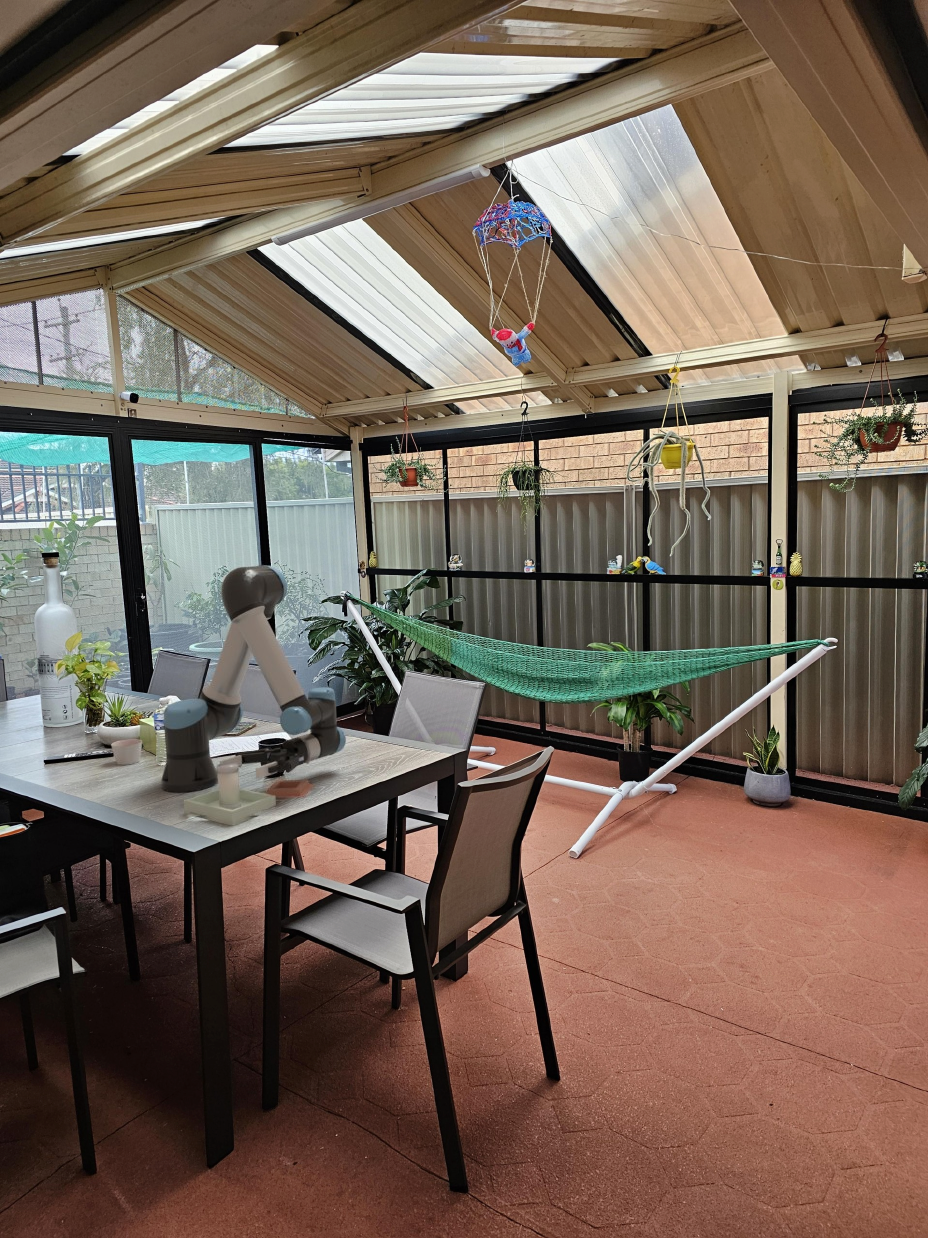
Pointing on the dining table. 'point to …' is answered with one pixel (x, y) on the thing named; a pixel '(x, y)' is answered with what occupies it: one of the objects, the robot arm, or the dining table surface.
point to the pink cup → (127, 751)
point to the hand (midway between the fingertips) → (238, 769)
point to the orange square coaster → (289, 788)
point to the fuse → (228, 785)
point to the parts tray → (213, 812)
